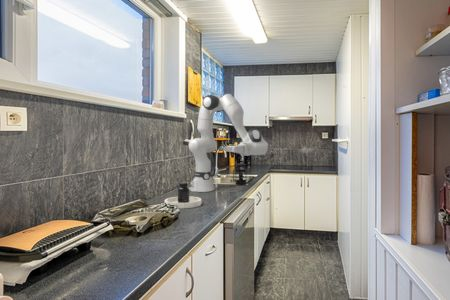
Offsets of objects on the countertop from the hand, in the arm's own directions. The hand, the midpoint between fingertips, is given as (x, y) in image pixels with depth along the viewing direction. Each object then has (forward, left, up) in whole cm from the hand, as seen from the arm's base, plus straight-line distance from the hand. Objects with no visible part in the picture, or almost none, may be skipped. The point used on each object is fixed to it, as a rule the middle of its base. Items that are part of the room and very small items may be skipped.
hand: (222, 149), depth 207 cm
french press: (-53, +43, -32) cm, 75 cm away
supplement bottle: (+3, -27, -31) cm, 42 cm away
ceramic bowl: (+3, -28, -32) cm, 42 cm away
